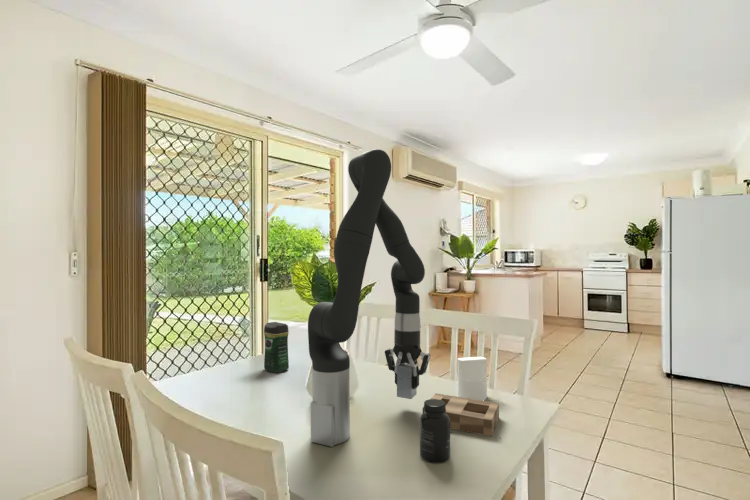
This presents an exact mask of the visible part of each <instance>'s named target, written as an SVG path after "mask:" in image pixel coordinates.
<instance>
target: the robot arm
mask: <svg viewBox="0 0 750 500" xmlns="http://www.w3.org/2000/svg"><path fill="white" fill-rule="evenodd" d="M347 170H348V171H347V172H348V176H349V178H350V180H351V182H352V185H353V186H354V188H355V189H356V191H357V195H356V197H355V199H354V200H353V202H352V204H351V205H350V206H349V208H348V210H347V212H346V213H345V215H344V216H343V218H342V220H341V222H340V224H339V226H338V230H337V233H336V237H335V240H334V244H333V245H334V246H333V257H334V264H335V269H336V274H337V286H336V292H335V295H334V299H333V302H332V301H331V302H330V301H321V302H318V303H316V304H315V305H314V306H313V307H312V309H311V310H310V313H309V314H308V320H307V337H308V353H309V358H310V360H311V363H312V401H311V403H310V442H312V443H316V444H319V445H323V446H327V447H331V448H333V447H334V446H335V445H336V446H337V445H339V444H342V443H345V442H347V441H348V440H349V439H350V436H351V402H350V401H351V399H350V398H351V391H350V390H351V387H350V385H351V381H350V380H351V377H350V375H351V371H350V370H351V369H350V368H351V367H350V366H351V364H350V361H351V359H350V356H349V354H348V353H347V351H345V350H344V349H343V348H342V345H341V344H340V343H345V342H347V341H348V340H349V339H350V338H351V337H352V335H353V334H354V331H355V330H356V326H357V321H358V316H359V307H360V299H361V292H362V287H363V281H364V277H365V271H366V266H367V263H368V262H367V261H368V258H369V254H370V250H371V246H372V242H373V238H374V232H375V227H376V228H377V230H378V232H379V235H380V237H381V239H382V243H383V244H384V247H385V249H386V251H387V254H388V255H389V256H391V257H393V258H395V259H396V261H395V262H394V263H393V264H392V267H391V270H390V280H391V283H392V285H391V286H392V288H393V289H392V290H393V293H394V296H395V315H394V331H393V332H394V342H393V343H394V346H393V348H387V349H385V350H384V356H385V359H386V363H387V367H388V370H389V371H392V372H393V373H394V384H395V385H396V386H397V365H401V364H402V363H407V364H410V367H412V368H413V375H414V376H413V389H416V388H418V387H419V385H420V376H423V375H424V374H425V373H426V372H427V368H428V365H429V362H430V359H431V354H430V353H425V352H424V351H422V349H421V327H422V326H421V315H420V314H421V313H420V312H421V310H420V309H421V307H420V305H421V303H420V302H421V301H420V295H419V294H418V293H417V292H415V291H414V290H413V288H412V285H417V284H420V283H421V282H422V281H423V280H424V278H425V274H426V269H425V265H424V263H423V261H422V259H421V257H420V255H419V254H418V253H417V251H416V250H415V248H414V247H413V245H412V243H410V240H409V237H408V235H407V232H406V228H405V226H404V224H403V222H402V220H401V219H400V217H399V216H398V215H397V213H395V212H394V210H393V209H392V208H391V207H390V206H389V205H388V204H387V202H386V200H385V199H384V195H385V192H386V190H387V186H388V185H389V184H388V183H389V181H390V177H391V173H392V162H391V158H390V156H389V155H388V153H387V152H386V151H385V150H384V149H381V148H375V149H370V150H367V151H365V152H363V153H362V152H361V153H360V154H358V155H356V156H354V157H352V158H351V160H350V161H349V163H348V167H347ZM394 355H395V357H396V362H395V359H394ZM419 358H420V359H421V365H420V366H419V361H418V359H419Z"/></svg>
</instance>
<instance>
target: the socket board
mask: <svg viewBox="0 0 750 500" xmlns="http://www.w3.org/2000/svg"><path fill="white" fill-rule="evenodd" d="M430 399H438V400H442V401H444V402H445V403H446V412H445V413H446V414H447V415H448V416H449V418H450V430H456V431H462V432H468V433H472V434H476V435H477V434H478V435H483V436H487V437H492V436H493V434H494V432H495V429H496V426H497V423H498V422H499V418H500V404H499V402H492V401H487V400H484V401H481V400H475V399H469V398H462V397H458V396H455V395H449V394H443V393H442V394H441V393H434V394H433V395H432V396H431V398H430ZM422 413H424V406H423V407H422ZM497 421H498V422H497Z"/></svg>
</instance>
